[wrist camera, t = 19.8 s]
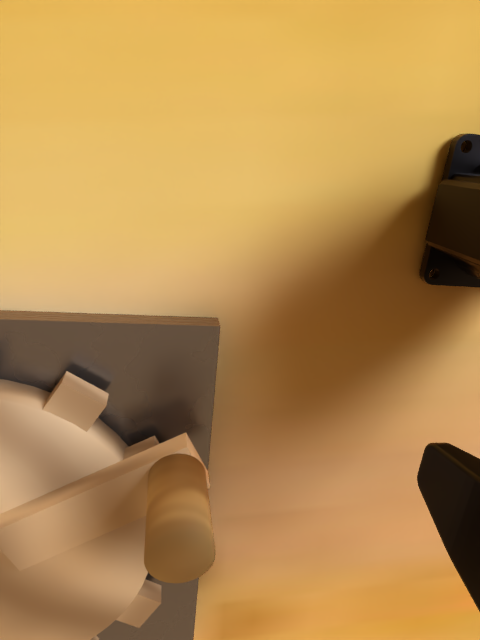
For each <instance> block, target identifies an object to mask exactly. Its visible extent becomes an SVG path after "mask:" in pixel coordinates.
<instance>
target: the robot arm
mask: <svg viewBox="0 0 480 640" xmlns="http://www.w3.org/2000/svg"><path fill="white" fill-rule="evenodd" d="M464 141H465V142H466V149H465V151H463V152H462V151H461V145H462V143H463V142H464ZM426 241H427V244H426V248H425V252H424V256H423V260H422V264H421V269H420V278H421V279H422V280H423V281H424V282H426V283H428V284H431V285H447V286H466V287H480V135H476V134H460V135H458V136H456V137H455V138H454V139H453V140H452V142H451V145H450V148H449V152H448V156H447V161H446V165H445V169H444V173H443V177H442V181H441V183H440V184H439V186H438V189H437V194H436V198H435V202H434V206H433V210H432V214H431V219H430V223H429V227H428V231H427V235H426ZM433 269H435V273H434V274H433V276H431V277H429V273H430V271H431V270H433ZM417 481H418V486H419V489H420V491H421V493H422V496H423V498H424V500H425V502H426V505H427V507H428V509H429V512H430V514H431V516H432V518H433V521H434V523H435V525H436V528H437V530H438V532H439V535H440V537H441V539H442V541H443V544H444V546H445V548H446V550H447V552H448V554H449V556H450V558H451V560H452V562H453V564H454V566H455V568H456V570H457V572H458V573H459V575H460V577H461V579H462V581H463V582H464V584H465V586H466V588H467V590H468V591H469V593H470V595H471V597H472V599H473V601H474V602H475V604H476V606H477V608H478V610H479V611H480V459H479V458H477V457H475V456H473V455H471V454H469V453H467V452H465V451H463V450H461V449H459V448H457V447H455V446H453V445H451V444H449V443H430V444H428V445H427V446H426V447H425V450H424V453H423V457H422V460H421V464H420V467H419V471H418V475H417Z"/></svg>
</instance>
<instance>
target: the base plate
mask: <svg viewBox="0 0 480 640" xmlns="http://www.w3.org/2000/svg"><path fill="white" fill-rule="evenodd" d="M219 334H220V324H219V321H218V318H201V317H173V316H144V315H116V314H87V313H59V312H31V311H2V310H0V379H4V380H10V381H14V382H18V383H22V384H26V385H30V386H34V387H37V388H40V389H42V390H45V391H48V392H52V391H53V390H54V388H55V387H56V385H57V384H58V383H59V381H60V380H61V378H62V377H63V376H64V374H65V373H66V371H68V372H69V373H71V374H73V375H75V376H77V377H79V378H81V379H82V380H84V381H86V382H88V383H90V384H92V385H94V386H95V387H97V388H99V389H101V390H103V391H105V392H107V393H108V394H109V396H108V400H107V405H106V407H105V408H104V410H103V411H102V412H101V414H100V415H99V416H98V418H99V419H100V420H102V421H103V422H104V423H105V424H106V425H108V426H109V427H110V428H111V429H112V430H114V431H115V432H116V433H117V434H118V435H119V436H120V438H121V439H122V440H123V441H124V442H125V443H126V444H127V445H128V446H129V447H130V446H132V445H134V444H136V443H139V442H141V441H143V440H145V439H148V438H150V437H152V436H155V437H156V439H157V440H158V442H159V444H160V443H163V442H165V441H167V440H170V439H172V438H174V437H176V436H179V435H181V434H183V433H187V435H188V437H189V439H190V440H191V442H192V444H193V446H194V448H195V449H196V451H197V453H198V455H199V456H200V458H201V460H202V462H203V463H204V465H205V467H206V469H207V471H208V462H209V450H210V439H211V427H212V416H213V404H214V392H215V381H216V369H217V357H218V346H219ZM145 579H146V580H149V581H151V582H154V583H156V584H159V585H161V604H160V605H159V606H158V607H157V609H156V610H155V611H154V612H153V613H152V614H151V615H150V616H149V618H148V619H147V620H146V621H145V622H144V623H143V624H142V625H141V627H140V628H138V627H135V626H132V625H129V624H126V623H123V622H120V621H118V620H115V621H114V622H113V623H112V624H111V625H110V626H108V627H107V628H106V629H104V630H103V631H101V632H100V633H99V634H97V635H96V636H97V637H98V638H99V640H193V637H194V625H195V614H196V602H197V590H198V579H199V577H198V578H196V579H194V580H191V581H188V582H184V583H167V582H163V581H160V580H158V579H156V578H154V577H153V576H151V575H150V574H149V572H148V574H147V576H146V578H145Z"/></svg>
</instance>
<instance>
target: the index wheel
mask: <svg viewBox="0 0 480 640" xmlns="http://www.w3.org/2000/svg"><path fill="white" fill-rule="evenodd" d="M108 396H109V394H108V393H107V392H105V391H103V390H101V389H99V388H97V387H95V386H94V385H92V384H90V383H88V382H86V381H84V380H82V379H81V378H79V377H77V376H75V375H73V374H71V373H69V372H68V371H66V373H65V374H64V376H63V377H62V378H61V380H60V381H59V383H58V384H57V385H56V387H55V388H54V390H53V391H52V392H48V391H45V390H42V389H40V388H37V387H34V386H30V385H26V384H22V383H18V382H14V381H10V380H4V379H0V640H99V638H98V637H97V636H96V635H97V634H99V633H100V632H101V631H103V630H104V629H106V628H107V627H108V626H110V625H111V624H112V623H113V622H114V621H115V620H118V621H120V622H123V623H126V624H129V625H132V626H135V627H138V628H140V627H141V625H142V624H143V623H144V622H145V621H146V620H147V619H148V618H149V616H150V615H151V614H152V613H153V612H154V611H155V610H156V609H157V607H158V606H159V605H160V604H161V585H159V584H156V583H154V582H151V581H149V580H146V579H145V578H146V576H147V574H148V572H149V574H150V575H151V576H153V577H154V578H156V579H158V580H160V581H163V582H167V583H184V582H188V581H191V580H194V579H196V578H198V577H200V576H201V575H203V574H204V573H205V572H206V571H208V569H209V568H210V567H211V565H212V564H213V562H214V559H215V545H214V537H213V529H212V521H211V513H210V505H209V497H208V488H210V481H209V474H208V471H207V469H206V467H205V465H204V463H203V462H202V460H201V458H200V456H199V455H198V453H197V451H196V449H195V448H194V446H193V444H192V442H191V440H190V439H189V437H188V435H187V433H183V434H181V435H179V436H176V437H174V438H172V439H170V440H167V441H165V442H163V443H160V444H159V442H158V440H157V439H156V437H155V436H152V437H150V438H148V439H145V440H143V441H141V442H139V443H136V444H134V445H132V446H130V447H129V446H128V445H127V444H126V443H125V442H124V441H123V440H122V439H121V438H120V436H119V435H118V434H117V433H116V432H115V431H114V430H112V429H111V428H110V427H109V426H108V425H106V424H105V423H104V422H103V421H102V420H100V419H99V418H98V416H99V415H100V414H101V412H102V411H103V410H104V408H105V407H106V405H107V400H108Z"/></svg>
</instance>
